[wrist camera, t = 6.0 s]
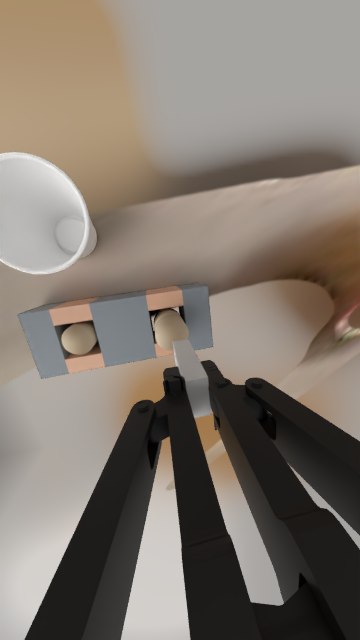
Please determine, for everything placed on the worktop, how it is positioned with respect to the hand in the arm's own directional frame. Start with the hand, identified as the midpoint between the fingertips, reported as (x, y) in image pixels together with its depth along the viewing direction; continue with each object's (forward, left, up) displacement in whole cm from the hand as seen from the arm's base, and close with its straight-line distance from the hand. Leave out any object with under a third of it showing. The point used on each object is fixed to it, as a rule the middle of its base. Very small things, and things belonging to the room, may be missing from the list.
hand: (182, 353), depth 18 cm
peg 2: (0, 0, -11) cm, 11 cm away
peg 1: (-12, 0, -15) cm, 20 cm away
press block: (-6, 0, -16) cm, 17 cm away
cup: (-11, +14, -16) cm, 24 cm away
